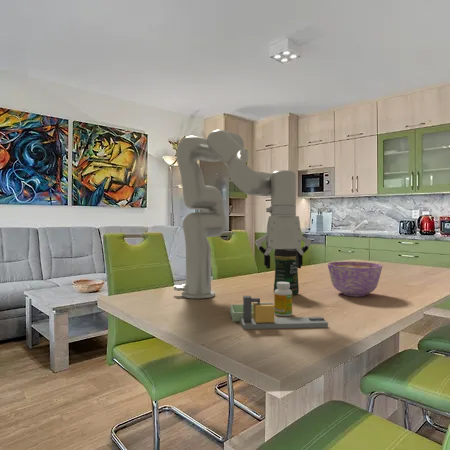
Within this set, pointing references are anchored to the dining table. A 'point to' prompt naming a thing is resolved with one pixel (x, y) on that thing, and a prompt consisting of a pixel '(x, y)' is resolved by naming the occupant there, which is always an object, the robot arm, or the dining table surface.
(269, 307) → the strap block
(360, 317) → the dining table surface
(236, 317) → the green square tray
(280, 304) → the supplement bottle
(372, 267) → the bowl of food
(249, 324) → the base plate
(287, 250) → the coffee jar
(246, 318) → the post
